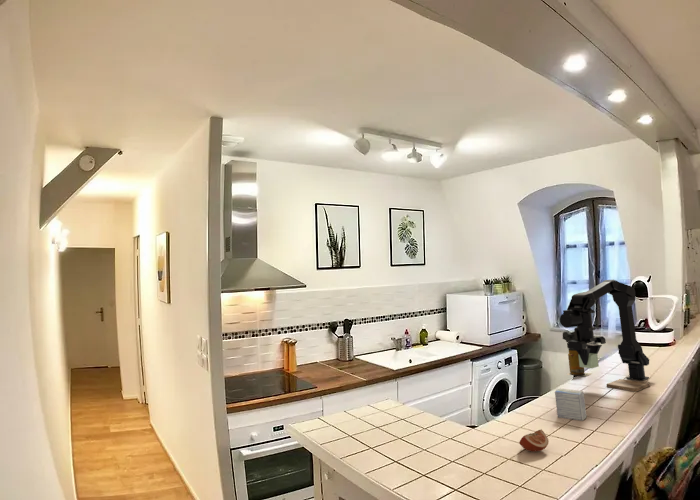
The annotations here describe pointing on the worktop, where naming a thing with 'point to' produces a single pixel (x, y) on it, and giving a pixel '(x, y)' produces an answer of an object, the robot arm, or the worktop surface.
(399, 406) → the worktop surface
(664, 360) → the worktop surface
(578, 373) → the condiment
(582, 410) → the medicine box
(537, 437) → the fruit slice
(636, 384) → the walnut board
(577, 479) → the worktop surface
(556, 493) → the worktop surface
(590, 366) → the sage cube
